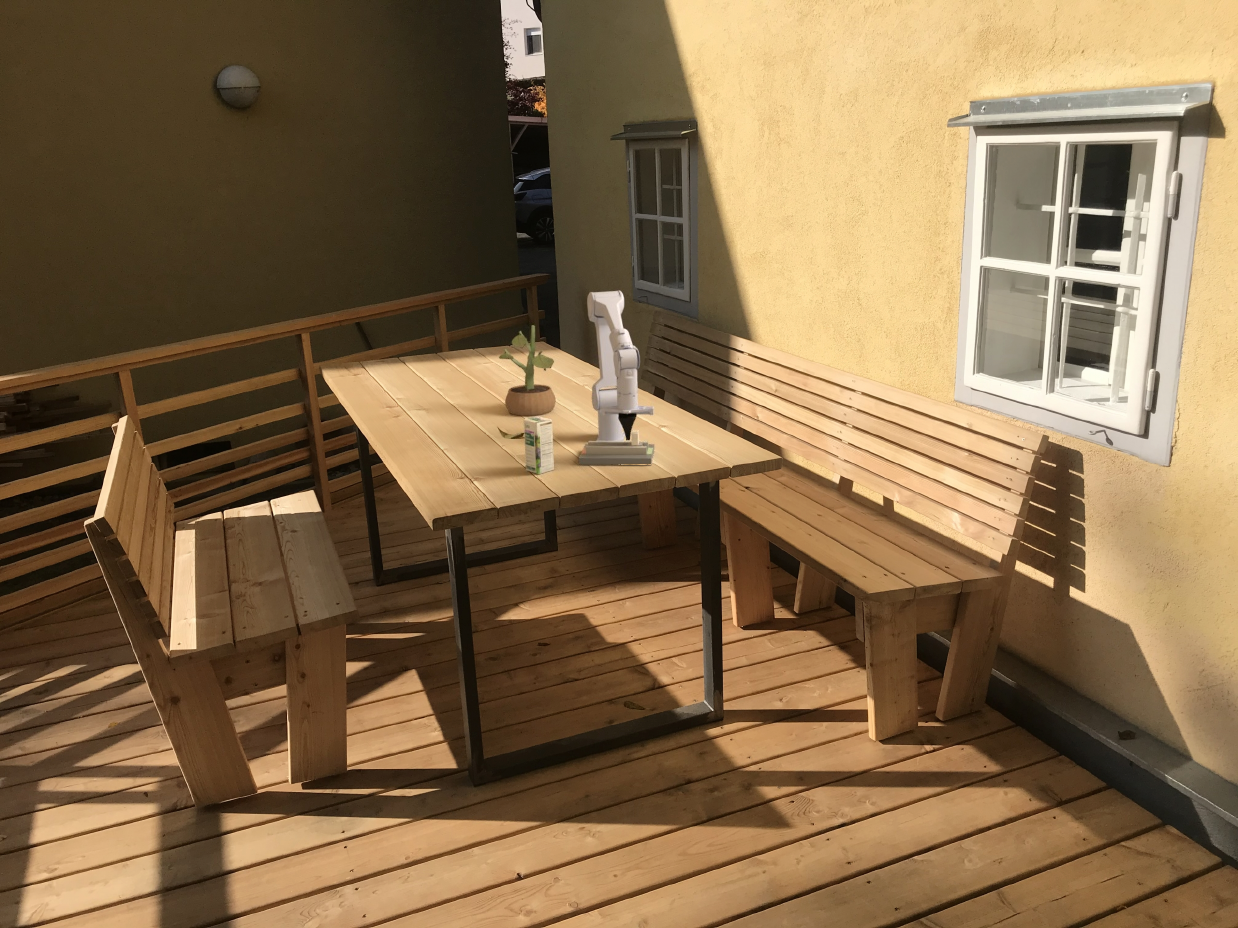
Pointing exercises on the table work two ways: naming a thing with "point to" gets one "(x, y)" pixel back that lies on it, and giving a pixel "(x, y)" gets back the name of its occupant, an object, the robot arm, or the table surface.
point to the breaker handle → (635, 439)
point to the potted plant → (529, 382)
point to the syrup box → (538, 444)
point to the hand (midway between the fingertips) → (628, 439)
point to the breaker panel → (615, 453)
